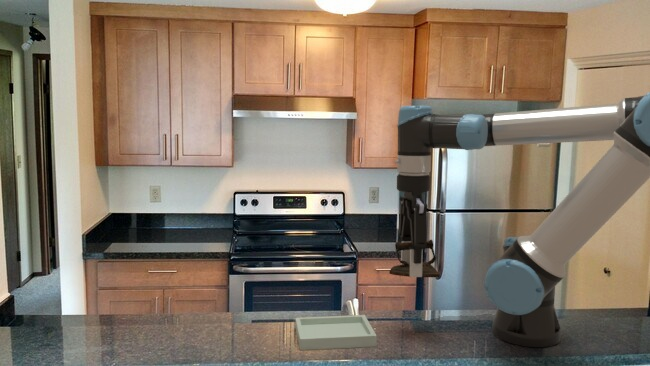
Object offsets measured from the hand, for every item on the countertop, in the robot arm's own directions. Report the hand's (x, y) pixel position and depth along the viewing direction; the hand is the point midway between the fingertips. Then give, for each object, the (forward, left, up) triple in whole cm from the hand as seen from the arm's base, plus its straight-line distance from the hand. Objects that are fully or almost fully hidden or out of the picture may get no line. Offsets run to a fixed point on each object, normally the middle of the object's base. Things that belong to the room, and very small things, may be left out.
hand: (411, 272), depth 126 cm
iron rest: (+18, 0, -15) cm, 23 cm away
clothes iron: (0, 0, -1) cm, 1 cm away
